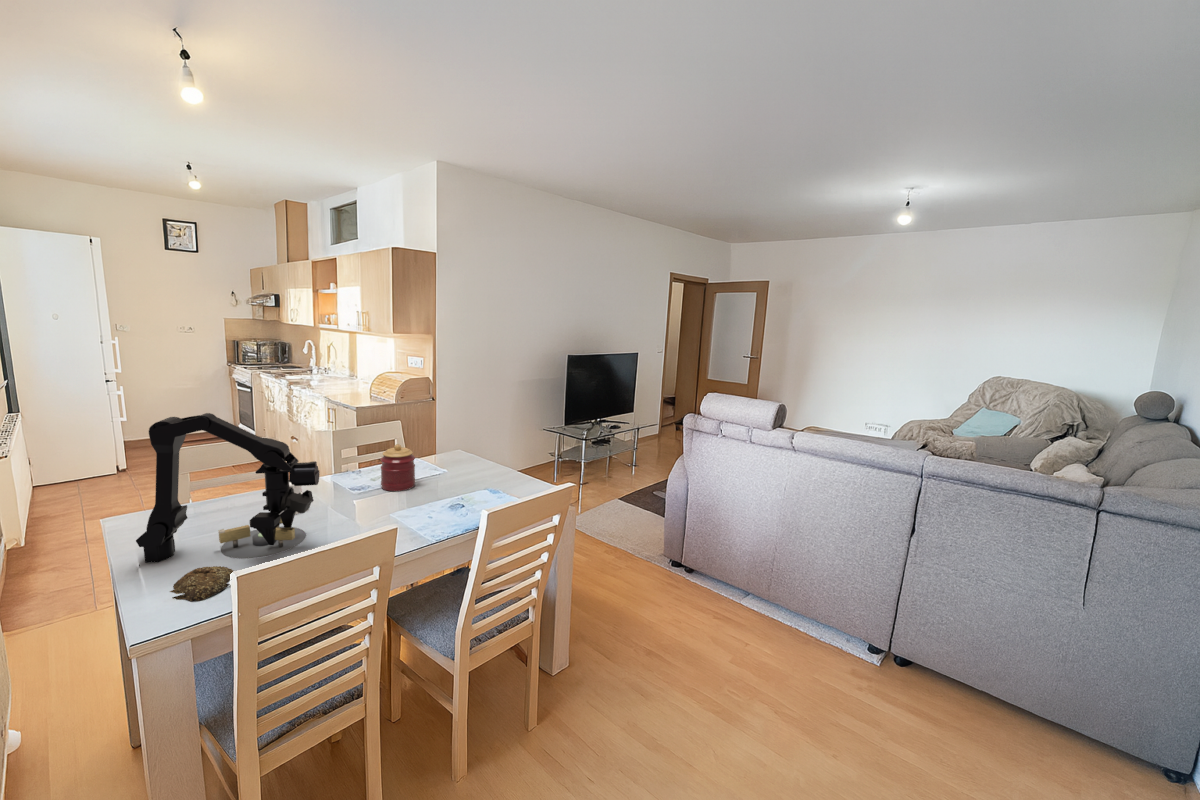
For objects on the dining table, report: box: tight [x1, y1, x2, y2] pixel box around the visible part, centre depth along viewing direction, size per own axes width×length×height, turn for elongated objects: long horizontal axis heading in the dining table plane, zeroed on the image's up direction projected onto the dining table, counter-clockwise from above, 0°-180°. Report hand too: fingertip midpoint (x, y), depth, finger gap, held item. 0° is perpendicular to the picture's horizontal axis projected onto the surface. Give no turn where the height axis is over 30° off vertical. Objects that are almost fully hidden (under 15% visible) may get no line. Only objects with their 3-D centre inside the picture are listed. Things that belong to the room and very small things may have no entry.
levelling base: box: [220, 525, 307, 560], centre depth 145 cm, size 21×21×4 cm
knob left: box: [217, 524, 251, 548], centre depth 141 cm, size 2×7×6 cm, turn 137°
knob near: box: [275, 527, 296, 548], centre depth 142 cm, size 2×7×6 cm, turn 97°
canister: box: [380, 443, 416, 492], centre depth 198 cm, size 13×13×18 cm
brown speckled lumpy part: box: [169, 565, 235, 602], centre depth 123 cm, size 13×12×5 cm
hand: (280, 537), depth 142 cm, fingers open, 9 cm apart
